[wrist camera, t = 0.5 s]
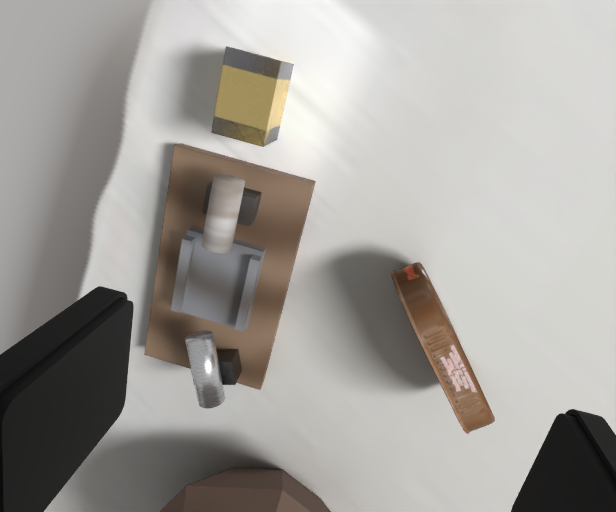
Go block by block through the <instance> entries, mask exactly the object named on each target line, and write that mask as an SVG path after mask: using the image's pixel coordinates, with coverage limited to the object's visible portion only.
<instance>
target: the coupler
mask: <svg viewBox="0 0 616 512" xmlns="http://www.w3.org/2000/svg"><path fill="white" fill-rule="evenodd" d="M293 65H294V64H291V63H287V62H284V61H280V60H276V59H273V58H269V57H265V56H262V55H258V54H254V53H250V52H247V51H243V50H239V49H235V48H230V47H226V49H225V55H224V61H223V67H222V73H221V79H220V84H219V90H218V96H217V102H216V108H215V114H214V120H213V126H212V133H215V134H219V135H222V136H226V137H230V138H233V139H237V140H240V141H244V142H247V143H251V144H255V145H258V146H262V147H264V146H266V145H267V144H269V143H271V142H273V141H275V140H277V137H278V132H279V128H280V123H281V119H282V114H283V110H284V105H285V101H286V96H287V92H288V87H289V83H290V78H291V74H292V69H293Z"/></svg>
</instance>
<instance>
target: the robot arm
mask: <svg viewBox="0 0 616 512" xmlns="http://www.w3.org/2000/svg"><path fill="white" fill-rule="evenodd" d="M132 319H133V302H132V301H129V300H127V295H126V294H125V293H124V292H120V291H116V290H112V289H108V288H105V287H100V286H99V287H97V288H95V289H94V290H92V291H91V292H89V293H88V294H86V295H85V296H84V297H82V298H81V299H79V300H78V301H76V302H75V303H74V304H72V305H71V306H69V307H68V308H67V309H65V310H64V311H62V312H61V313H59V314H58V315H56V316H55V317H54V318H52V319H51V320H49V321H48V322H46V323H45V324H44V325H42V326H41V327H39V328H38V329H36V330H35V331H34V332H32V333H31V334H29V335H28V336H27V337H25V338H24V339H22V340H21V341H19V342H18V343H17V344H15V345H14V346H12V347H11V348H10V349H8V350H7V351H5V352H4V353H2V354H1V355H0V512H44V510H45V509H46V508H47V506H48V505H49V504H50V503H51V501H52V500H53V499H54V498H55V496H56V495H57V494H58V493H59V491H60V490H61V489H62V488H63V486H64V485H65V484H66V483H67V481H68V480H69V479H70V478H71V476H72V475H73V474H74V473H75V471H76V470H77V469H78V467H79V466H80V465H81V464H82V462H83V461H84V460H85V459H86V457H87V456H88V455H89V454H90V452H91V451H92V450H93V449H94V447H95V446H96V445H97V444H98V442H99V441H100V440H101V439H102V437H103V436H104V435H105V433H106V432H107V431H108V430H109V428H110V427H111V426H112V425H113V423H114V422H115V421H116V420H117V418H118V417H119V415H120V414H121V412H122V409H123V407H124V403H125V397H126V386H127V374H128V363H129V352H130V341H131V330H132ZM511 512H616V435H615V434H614V432H613V431H612V429H611V428H610V426H609V425H608V423H607V422H606V421H605V419H604V418H603V417H601V416H598V415H594V414H590V413H586V412H582V411H578V410H574V409H571V410H568V411H567V412H566V413H565V414H559V415H558V416H557V417H556V418H555V420H554V422H553V424H552V426H551V428H550V431H549V433H548V435H547V437H546V439H545V441H544V443H543V445H542V447H541V449H540V451H539V453H538V455H537V457H536V459H535V461H534V463H533V465H532V468H531V470H530V472H529V474H528V476H527V478H526V480H525V482H524V484H523V486H522V488H521V490H520V492H519V494H518V496H517V498H516V500H515V502H514V504H513V507H512V510H511Z"/></svg>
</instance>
